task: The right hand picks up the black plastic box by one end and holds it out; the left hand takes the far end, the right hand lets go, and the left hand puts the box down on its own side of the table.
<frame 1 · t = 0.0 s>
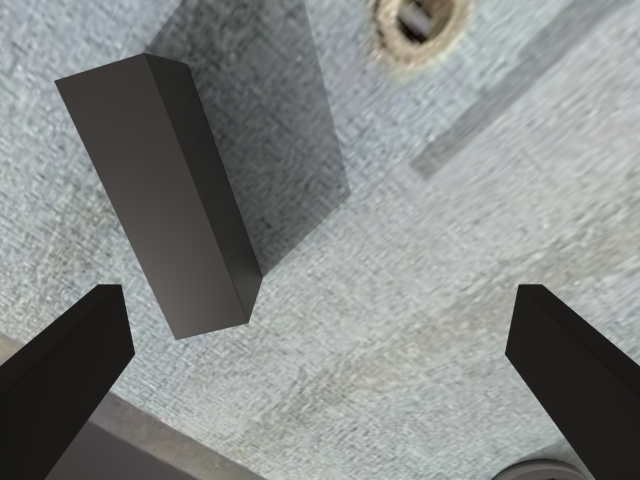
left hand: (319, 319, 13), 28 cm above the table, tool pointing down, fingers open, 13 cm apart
box: (196, 190, 40), on the table
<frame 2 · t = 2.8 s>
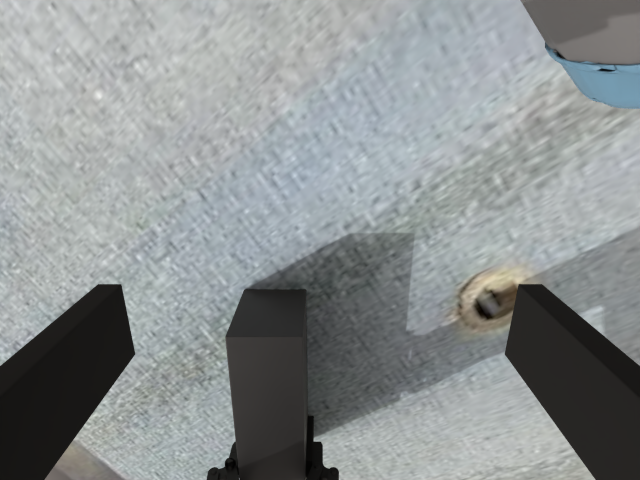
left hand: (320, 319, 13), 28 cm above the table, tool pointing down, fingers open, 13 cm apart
box: (278, 371, 48), on the table, touching right hand
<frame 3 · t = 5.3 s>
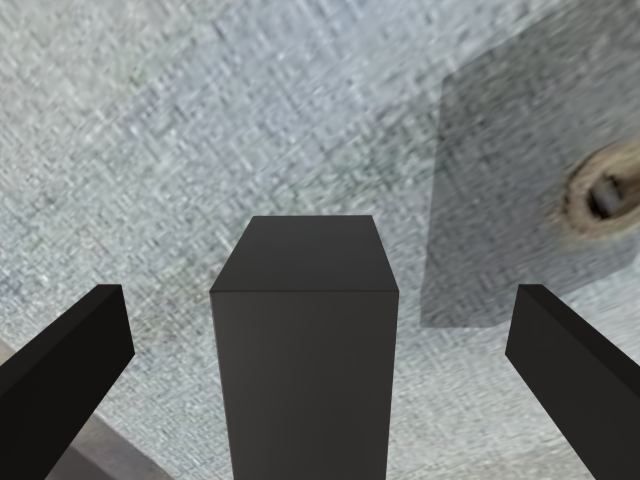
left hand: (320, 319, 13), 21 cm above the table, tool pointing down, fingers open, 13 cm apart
box: (315, 370, 27), point 10 cm above the table, touching right hand
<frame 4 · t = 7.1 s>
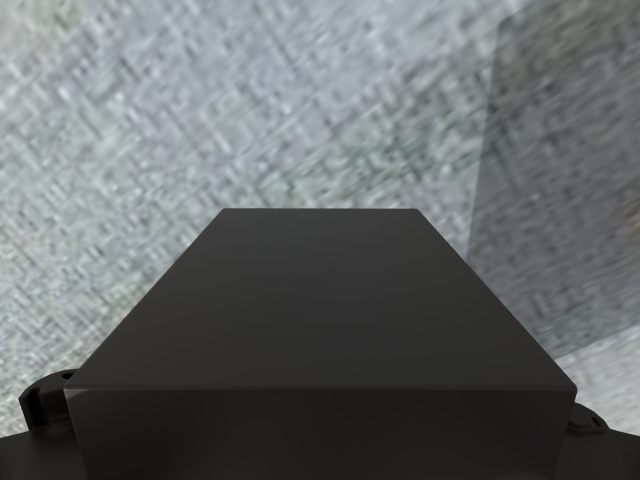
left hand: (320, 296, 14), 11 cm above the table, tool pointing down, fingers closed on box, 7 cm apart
box: (319, 445, 18), point 10 cm above the table, touching left hand, right hand
when the right hand's fingers open (11 cm above the table, at t = 7.9 s): box stays where it is, held by the left hand.
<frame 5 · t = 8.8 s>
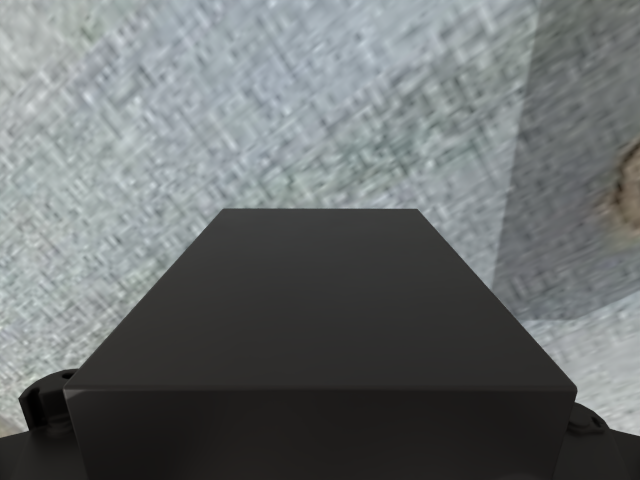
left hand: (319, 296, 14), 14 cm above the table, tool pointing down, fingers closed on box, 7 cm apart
box: (319, 445, 18), point 13 cm above the table, touching left hand
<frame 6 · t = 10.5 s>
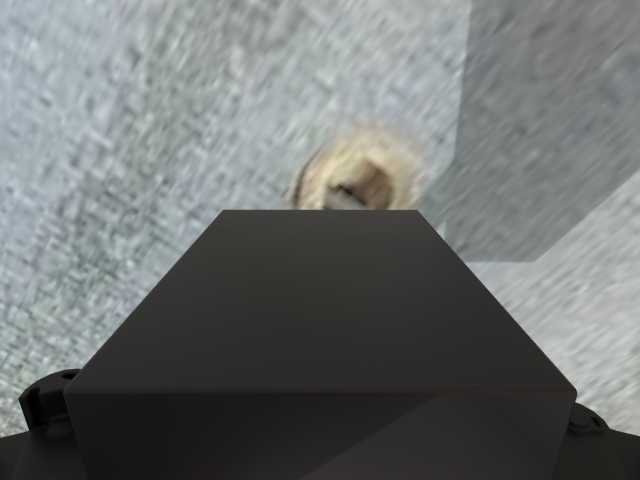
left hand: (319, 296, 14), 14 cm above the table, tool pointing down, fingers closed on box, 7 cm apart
box: (319, 446, 18), point 13 cm above the table, touching left hand
when the left hand's fingers open (2 cm above the table, at t = 12.1 s): box drops 1 cm, on the table.
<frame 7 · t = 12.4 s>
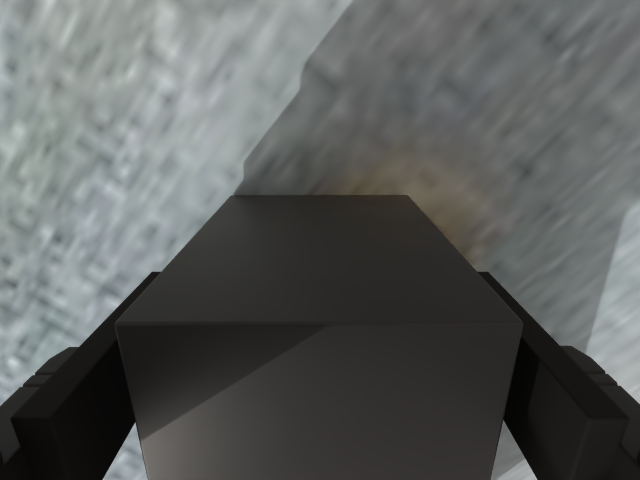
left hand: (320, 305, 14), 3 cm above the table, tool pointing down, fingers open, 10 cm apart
box: (319, 417, 19), on the table
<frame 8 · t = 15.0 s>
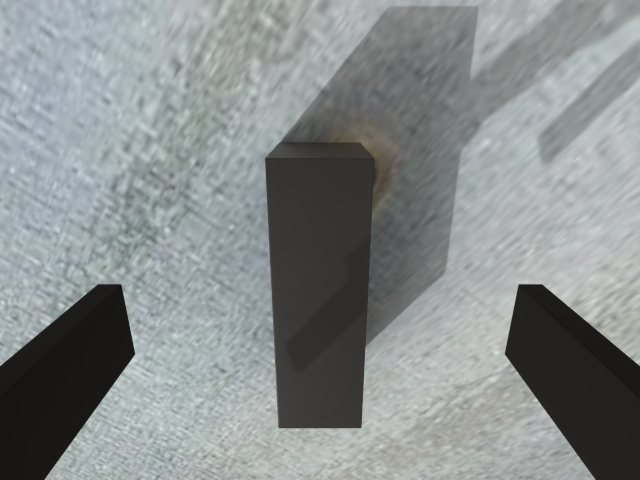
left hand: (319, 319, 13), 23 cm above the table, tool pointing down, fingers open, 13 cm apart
box: (319, 262, 38), on the table
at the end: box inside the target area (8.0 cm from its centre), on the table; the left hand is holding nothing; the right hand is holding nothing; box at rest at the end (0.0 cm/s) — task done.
